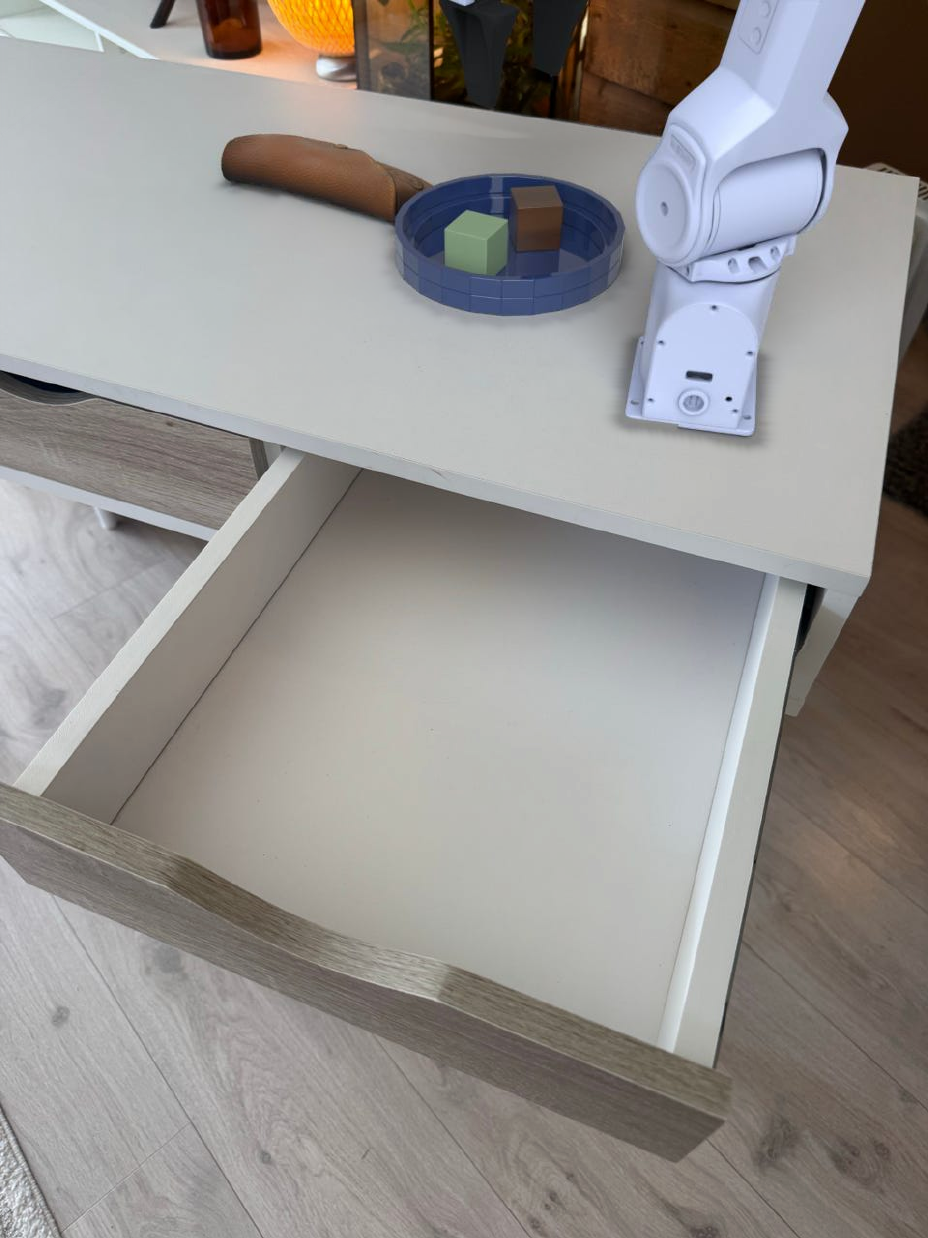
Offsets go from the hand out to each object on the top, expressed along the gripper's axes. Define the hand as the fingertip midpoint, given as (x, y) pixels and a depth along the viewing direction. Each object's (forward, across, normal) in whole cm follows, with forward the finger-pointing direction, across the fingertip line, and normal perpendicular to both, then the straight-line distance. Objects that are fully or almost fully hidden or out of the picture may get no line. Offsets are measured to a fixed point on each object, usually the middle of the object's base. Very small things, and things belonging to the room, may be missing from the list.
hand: (515, 86), depth 69 cm
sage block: (+9, +9, +4) cm, 13 cm away
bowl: (+10, +6, +5) cm, 12 cm away
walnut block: (+9, +2, +5) cm, 11 cm away
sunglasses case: (+12, +6, -14) cm, 19 cm away
